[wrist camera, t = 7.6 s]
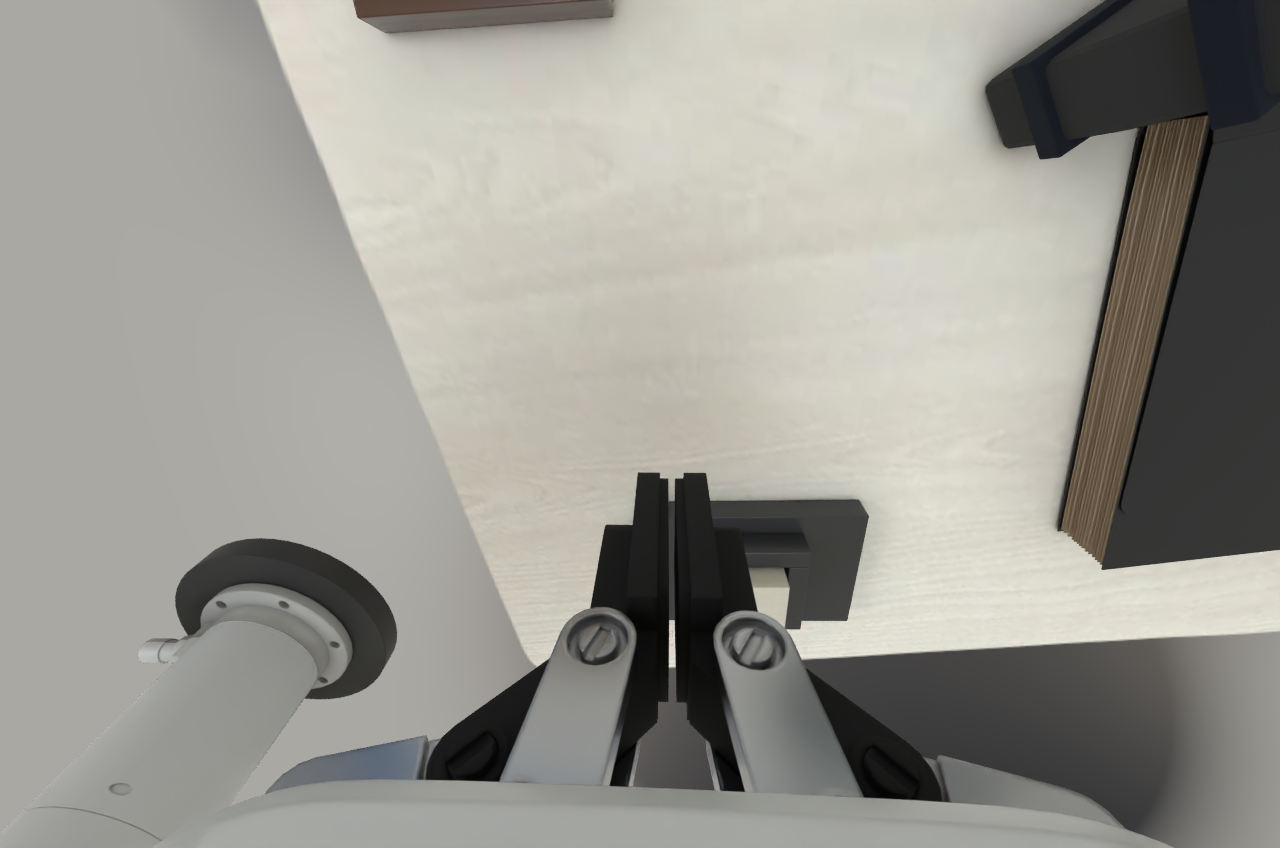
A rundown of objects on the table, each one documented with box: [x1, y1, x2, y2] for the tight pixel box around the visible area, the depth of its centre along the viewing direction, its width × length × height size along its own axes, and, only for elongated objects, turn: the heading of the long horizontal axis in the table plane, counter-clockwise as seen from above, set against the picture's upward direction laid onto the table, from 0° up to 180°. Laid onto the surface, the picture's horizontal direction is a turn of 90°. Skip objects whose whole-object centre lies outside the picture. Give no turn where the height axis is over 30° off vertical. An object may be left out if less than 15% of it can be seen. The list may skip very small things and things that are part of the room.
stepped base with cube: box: [668, 500, 869, 629], centre depth 31 cm, size 14×9×4 cm, turn 92°
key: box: [749, 568, 790, 627], centre depth 30 cm, size 4×4×2 cm
